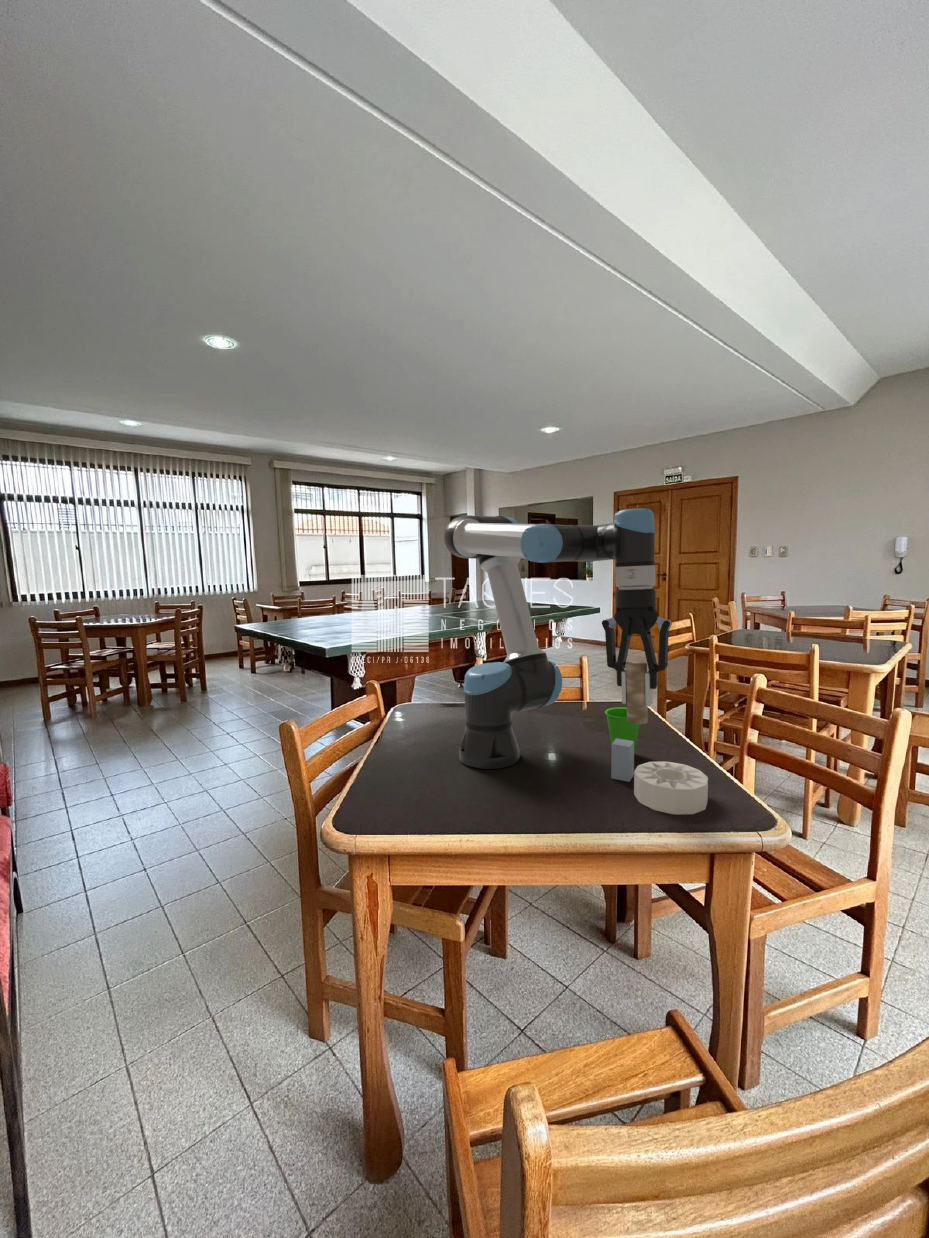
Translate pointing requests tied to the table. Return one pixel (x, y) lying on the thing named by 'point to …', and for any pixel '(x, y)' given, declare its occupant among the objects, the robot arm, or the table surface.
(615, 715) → the cup
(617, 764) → the square peg
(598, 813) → the table surface
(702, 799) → the socket
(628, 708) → the dowel
